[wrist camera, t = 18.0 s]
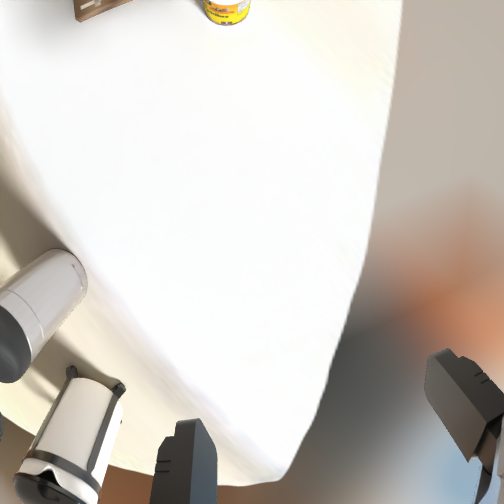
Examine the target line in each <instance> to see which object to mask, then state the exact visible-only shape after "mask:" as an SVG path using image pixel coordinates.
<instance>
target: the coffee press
mask: <svg viewBox="0 0 504 504" xmlns="http://www.w3.org/2000/svg"><path fill="white" fill-rule="evenodd" d="M71 371H72V372H71ZM66 375H67V379H66V382H65V384H64V386H63V387H62V389H61V391H60V392H59V394H58V396H57V398H56V399H55V401H54V403H53V405H52V407H51V408H50V410H49V412H48V414H47V416H46V418H45V420H44V421H43V423H42V425H41V427H40V429H39V431H38V433H37V435H36V437H35V439H34V441H33V443H32V445H31V447H30V449H29V450H28V451H27V452H26V453H25V456H24V458H23V460H22V466H21V468H20V470H19V472H17V473H15V474H14V476H13V478H12V481H13V483H14V491H15V493H16V495H17V497H18V498H19V500H20V501H21V502H22V503H23V504H97V503H98V502H99V500H100V496H101V492H102V489H101V486H102V482H103V479H104V475H105V472H106V468H107V465H108V461H109V458H110V455H111V451H112V448H113V445H114V441H115V438H116V435H117V432H118V428H119V425H120V424H121V423H122V420H121V419H122V414H123V411H122V406H121V404H120V402H119V400H118V399H119V398H120V397H121V396H122V395H123V393H124V392H125V391H126V388H125V387H124V386H123V385H122V384H121V383H119V384H117V385H116V386H115V387H114V388H113V389H111V390H109V389H108V388H107V387H105V386H104V385H102V384H100V383H98V382H96V381H93V380H90V379H86V378H79V377H78V374H77V370H76V368H75V366H70V367H68V368H66ZM72 376H73V379H71V378H72Z"/></svg>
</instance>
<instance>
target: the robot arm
mask: <svg viewBox="0 0 504 504" xmlns="http://www.w3.org/2000/svg"><path fill="white" fill-rule="evenodd" d="M86 291H87V277H86V274H85V271H84V269H83V267H82V265H81V264H80V262H79V261H78V260H77V259H76V258H75V257H74V256H73V255H72V254H70V253H69V252H67V251H65V250H62V249H51V250H48V251H47V252H45V253H44V254H42V255H41V256H39V257H38V258H36V259H35V260H33V261H32V262H30V263H29V264H28V265H26V266H25V267H23V268H22V269H21V270H19V271H18V272H16V273H15V274H14V275H12V276H11V277H10V278H8V279H7V280H6V281H4V282H3V283H2V284H0V382H2V383H13V382H16V381H17V380H19V379H20V378H21V377H22V376H23V374H24V373H25V372H26V370H27V369H28V367H29V366H30V365H31V363H32V362H33V361H34V359H35V358H36V357H37V355H38V354H39V352H40V351H41V350H42V348H43V347H44V346H45V345H46V343H47V342H48V341H49V339H50V338H51V337H52V336H53V334H54V333H55V332H56V331H57V329H58V328H59V327H60V326H61V324H62V323H63V322H64V321H65V319H66V318H67V317H68V316H69V315H70V313H71V312H72V311H73V310H74V309H75V307H76V306H77V305H78V304H79V303H80V302H81V300H82V299H83V298H84V296H85V294H86ZM424 390H425V394H426V397H427V399H428V401H429V403H430V404H431V406H432V407H433V409H434V410H435V412H436V413H437V415H438V416H439V418H440V419H441V421H442V422H443V424H444V425H445V427H446V429H447V430H448V432H449V433H450V435H451V436H452V438H453V439H454V441H455V443H456V444H457V446H458V447H459V449H460V450H461V452H462V453H463V455H464V457H465V458H466V460H467V462H468V463H469V462H471V461H473V460H474V459H476V458H479V459H480V461H481V463H480V467H479V472H478V477H477V482H476V487H475V491H474V495H473V500H472V504H504V393H503V392H502V391H501V390H500V389H499V388H498V387H497V385H496V384H494V382H493V381H492V380H490V379H489V377H488V376H487V375H486V373H483V370H482V369H481V368H480V367H479V366H478V365H477V364H476V363H475V362H474V361H472V360H470V359H468V358H466V357H464V356H462V357H460V358H458V357H457V356H456V355H455V354H454V353H453V352H452V351H451V350H450V349H448V348H447V349H444V350H442V351H439V352H437V353H435V354H432V355H430V356H429V357H428V360H427V368H426V376H425V384H424ZM3 431H4V420H3V416H2V414H1V412H0V441H1V438H2V434H3ZM156 461H157V463H156V466H155V474H154V478H153V484H152V491H151V497H150V503H149V504H217V452H216V448H215V445H214V443H213V441H212V439H211V437H210V436H209V434H208V432H207V430H206V428H205V427H204V425H203V423H202V421H201V420H200V419H199V418H198V419H190V420H182V421H178V422H177V423H176V427H175V434H174V436H170V437H166V438H165V439H164V441H163V442H162V444H161V446H160V447H159V449H158V455H157V460H156Z"/></svg>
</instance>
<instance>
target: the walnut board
mask: <svg viewBox="0 0 504 504" xmlns="http://www.w3.org/2000/svg"><path fill="white" fill-rule="evenodd" d="M129 1H132V0H74V9H75V18H76V20H78V21H79V22H82V21H84V20H87V19H89V18H91V17H93V16H95V15H98V14H100V13H102V12H104V11H107V10H109V9H112V8H114V7H117V6H119V5H122V4H124V3H127V2H129Z"/></svg>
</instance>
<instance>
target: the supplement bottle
mask: <svg viewBox="0 0 504 504" xmlns="http://www.w3.org/2000/svg"><path fill="white" fill-rule="evenodd" d="M203 1H204V7H205V12H206V15H207V17H208V18H209V19H210V20H211V21H212V22H213V23H215V24H217V25H221V26H232V25H236V24H238V23H240V22H241V21H243V20H244V19H245V18H246V16H247V15H248V12H249V8H250V2H251V0H203Z"/></svg>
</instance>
